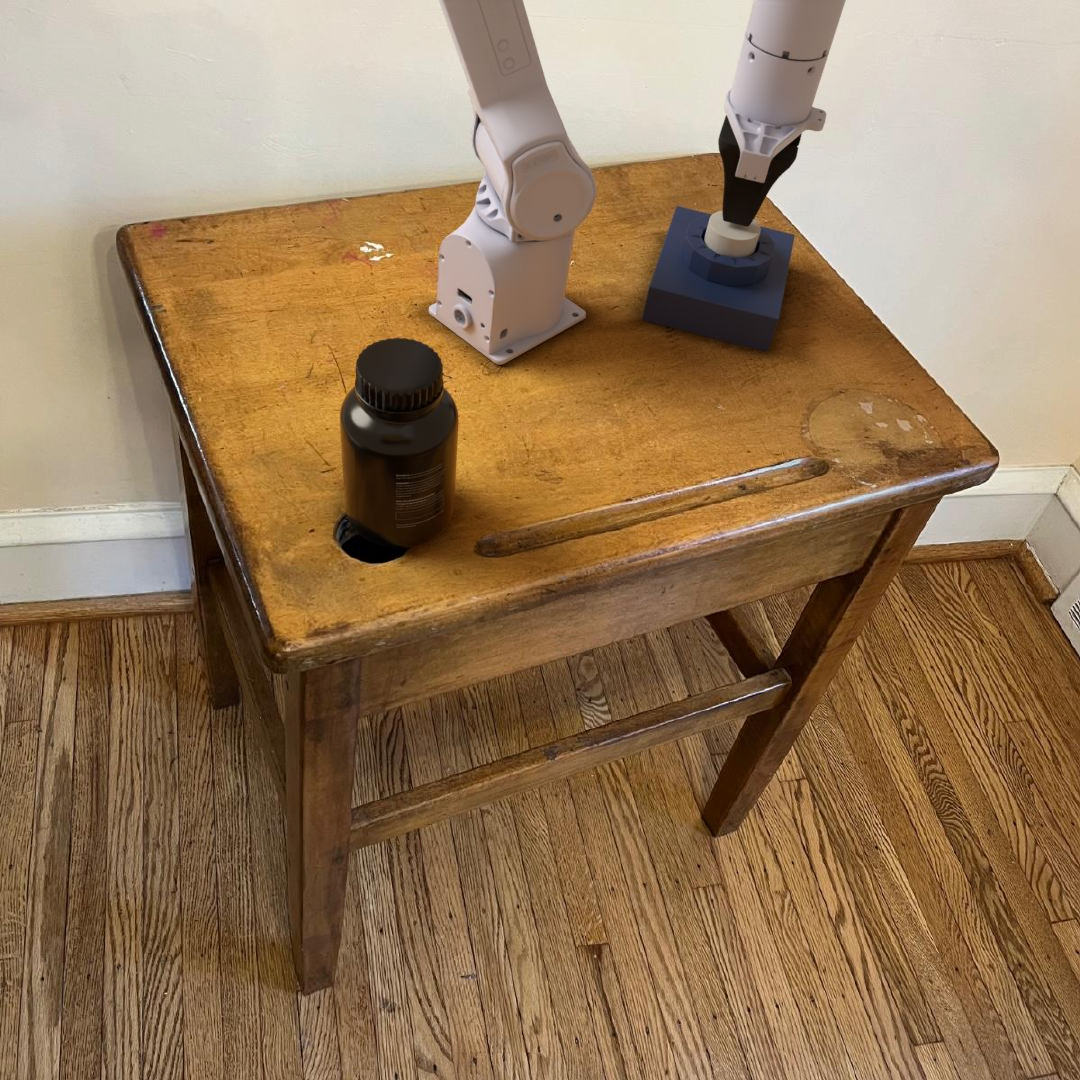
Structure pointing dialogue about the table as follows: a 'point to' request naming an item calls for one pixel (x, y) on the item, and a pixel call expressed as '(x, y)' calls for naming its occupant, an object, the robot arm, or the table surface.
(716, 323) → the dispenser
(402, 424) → the supplement bottle
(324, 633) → the table surface
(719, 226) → the cylinder
